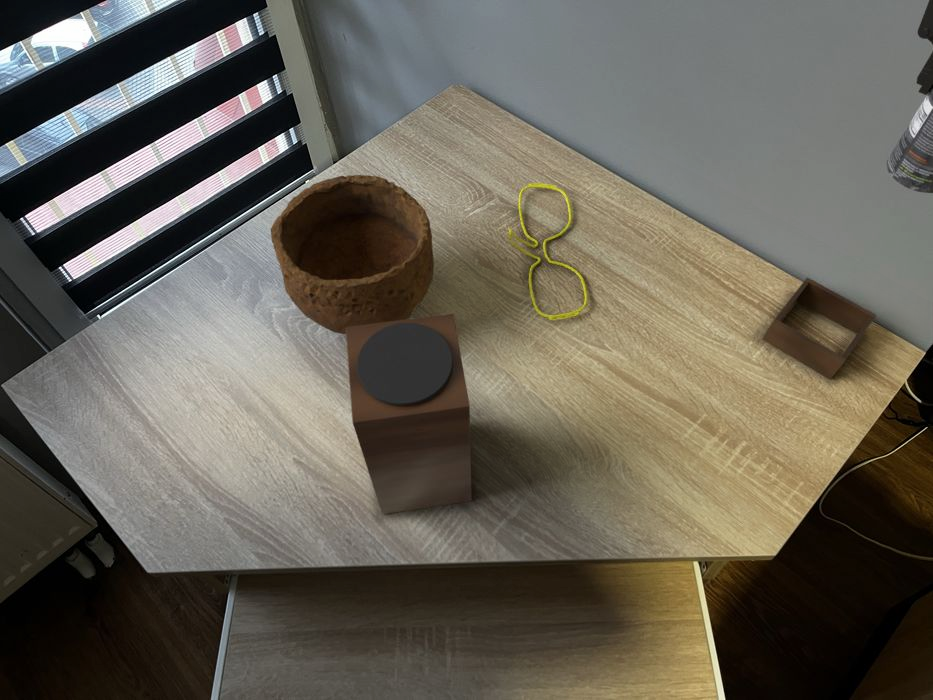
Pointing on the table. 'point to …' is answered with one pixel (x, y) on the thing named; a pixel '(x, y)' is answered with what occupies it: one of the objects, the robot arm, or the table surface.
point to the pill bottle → (915, 151)
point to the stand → (414, 432)
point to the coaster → (404, 364)
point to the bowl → (354, 252)
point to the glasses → (546, 253)
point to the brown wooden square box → (831, 308)
